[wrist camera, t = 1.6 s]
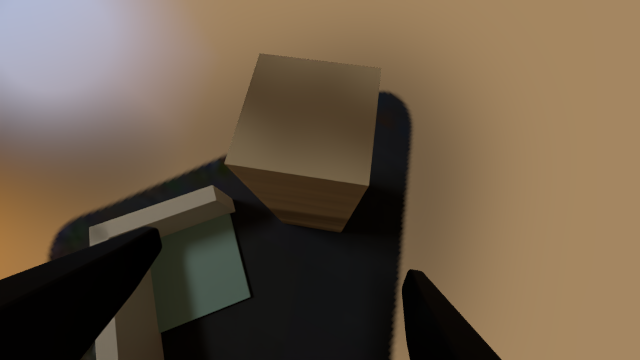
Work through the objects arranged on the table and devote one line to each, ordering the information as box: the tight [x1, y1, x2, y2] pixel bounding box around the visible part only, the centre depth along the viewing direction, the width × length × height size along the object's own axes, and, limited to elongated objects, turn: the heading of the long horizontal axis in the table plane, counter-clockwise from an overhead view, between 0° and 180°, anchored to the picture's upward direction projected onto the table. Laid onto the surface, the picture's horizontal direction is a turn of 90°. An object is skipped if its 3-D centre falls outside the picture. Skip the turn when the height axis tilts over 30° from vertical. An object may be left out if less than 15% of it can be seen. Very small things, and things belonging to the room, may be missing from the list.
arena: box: [89, 185, 251, 360], centre depth 17 cm, size 13×9×4 cm
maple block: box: [225, 54, 381, 233], centre depth 15 cm, size 5×5×13 cm
